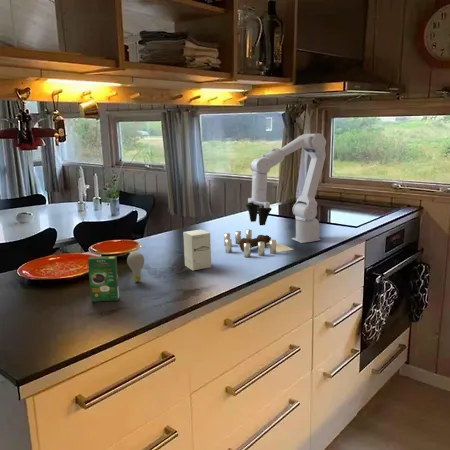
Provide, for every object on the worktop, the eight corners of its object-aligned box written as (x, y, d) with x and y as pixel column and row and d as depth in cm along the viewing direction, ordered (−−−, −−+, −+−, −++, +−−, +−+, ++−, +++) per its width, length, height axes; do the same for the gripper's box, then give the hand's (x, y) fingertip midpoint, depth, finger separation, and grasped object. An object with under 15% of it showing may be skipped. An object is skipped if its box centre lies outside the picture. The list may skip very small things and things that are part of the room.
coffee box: (120, 297, 136) (117, 254, 133) (119, 301, 133) (115, 257, 130) (93, 298, 135) (88, 256, 132) (91, 302, 132) (86, 259, 130)
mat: (268, 238, 197) (268, 238, 197) (294, 249, 179) (294, 249, 179) (254, 240, 194) (254, 240, 194) (278, 252, 176) (278, 252, 176)
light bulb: (131, 279, 151) (128, 250, 149) (147, 278, 151) (145, 249, 149) (127, 284, 146) (124, 254, 144) (144, 284, 146) (141, 254, 144)
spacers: (250, 240, 195) (250, 229, 193) (277, 253, 175) (277, 240, 173) (214, 246, 188) (214, 234, 187) (238, 259, 168) (238, 246, 167)
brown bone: (270, 247, 189) (245, 255, 178) (261, 240, 191) (237, 247, 181) (275, 236, 186) (251, 243, 175) (267, 229, 188) (242, 235, 178)
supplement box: (192, 271, 157) (190, 235, 154) (184, 265, 164) (182, 231, 161) (212, 267, 160) (210, 232, 158) (203, 262, 167) (201, 228, 164)
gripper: (241, 187, 184) (240, 220, 186) (259, 191, 171) (257, 227, 173) (257, 186, 187) (255, 219, 189) (275, 191, 174) (273, 226, 176)
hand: (257, 223), depth 181 cm, fingers open, 7 cm apart
